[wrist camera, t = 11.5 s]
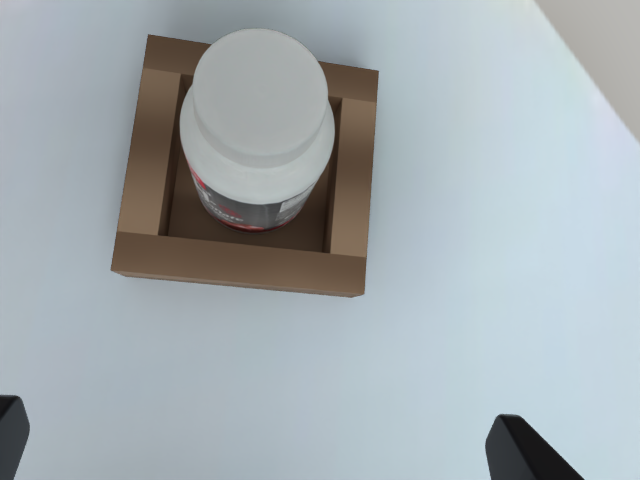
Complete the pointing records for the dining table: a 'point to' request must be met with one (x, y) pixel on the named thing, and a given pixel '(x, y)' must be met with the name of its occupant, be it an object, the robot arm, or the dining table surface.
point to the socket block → (215, 239)
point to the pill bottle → (256, 129)
